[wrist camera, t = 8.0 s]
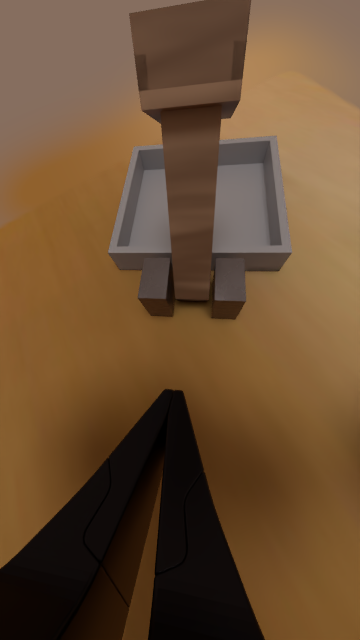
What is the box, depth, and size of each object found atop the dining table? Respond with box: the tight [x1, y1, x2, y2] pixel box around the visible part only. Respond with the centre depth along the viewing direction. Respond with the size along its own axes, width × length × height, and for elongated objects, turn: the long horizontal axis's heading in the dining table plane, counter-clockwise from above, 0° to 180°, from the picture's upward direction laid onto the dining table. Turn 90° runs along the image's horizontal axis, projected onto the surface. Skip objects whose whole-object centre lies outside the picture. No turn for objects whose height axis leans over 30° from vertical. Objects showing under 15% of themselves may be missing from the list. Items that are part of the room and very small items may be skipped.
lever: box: [129, 0, 251, 301], centre depth 14 cm, size 5×5×15 cm
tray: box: [108, 136, 292, 271], centre depth 22 cm, size 17×18×3 cm
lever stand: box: [138, 258, 246, 319], centre depth 17 cm, size 4×9×4 cm, turn 85°
